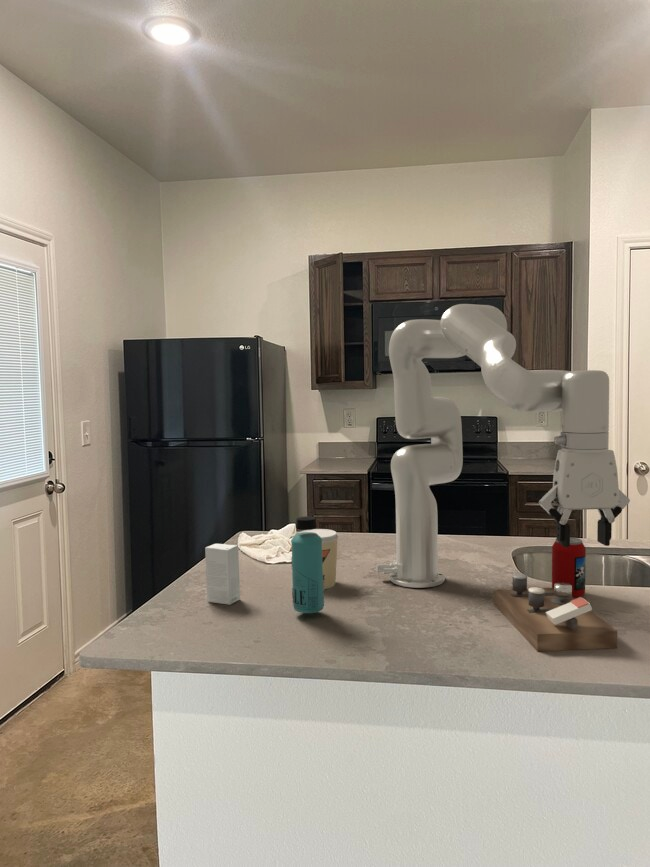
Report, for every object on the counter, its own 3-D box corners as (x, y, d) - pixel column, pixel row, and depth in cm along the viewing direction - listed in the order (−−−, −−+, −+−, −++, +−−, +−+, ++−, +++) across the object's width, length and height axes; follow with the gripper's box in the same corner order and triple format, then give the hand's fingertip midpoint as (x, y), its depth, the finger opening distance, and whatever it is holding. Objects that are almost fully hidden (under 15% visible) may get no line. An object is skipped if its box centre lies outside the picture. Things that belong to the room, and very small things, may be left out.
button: (558, 598, 128) (558, 587, 127) (551, 592, 131) (551, 582, 131) (574, 597, 128) (574, 587, 128) (567, 592, 131) (567, 582, 131)
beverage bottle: (329, 611, 135) (327, 514, 134) (318, 622, 129) (316, 521, 128) (299, 608, 138) (297, 513, 136) (287, 619, 131) (284, 519, 130)
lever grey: (515, 596, 132) (515, 578, 132) (510, 591, 135) (510, 573, 135) (529, 595, 132) (529, 577, 132) (524, 591, 135) (524, 573, 135)
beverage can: (587, 600, 138) (588, 544, 138) (554, 599, 140) (554, 543, 139) (582, 590, 145) (582, 536, 144) (549, 589, 146) (550, 535, 145)
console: (537, 651, 114) (537, 624, 113) (493, 604, 138) (493, 581, 137) (617, 647, 114) (617, 620, 114) (560, 601, 138) (560, 578, 138)
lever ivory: (531, 611, 123) (531, 592, 123) (526, 606, 126) (526, 587, 126) (547, 611, 123) (547, 591, 123) (541, 606, 126) (541, 587, 126)
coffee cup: (291, 588, 151) (290, 536, 150) (308, 576, 160) (307, 527, 159) (330, 592, 147) (328, 539, 146) (344, 580, 156) (343, 530, 155)
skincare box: (240, 599, 144) (239, 545, 143) (230, 605, 140) (228, 549, 139) (217, 596, 147) (215, 542, 146) (206, 602, 143) (204, 547, 142)
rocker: (555, 624, 115) (552, 617, 115) (547, 618, 118) (545, 611, 118) (592, 609, 115) (589, 602, 115) (584, 603, 118) (581, 596, 118)
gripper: (544, 445, 110) (543, 552, 111) (645, 443, 111) (643, 548, 112) (527, 441, 117) (527, 541, 119) (622, 439, 118) (621, 537, 120)
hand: (583, 543), depth 116 cm, fingers open, 6 cm apart
